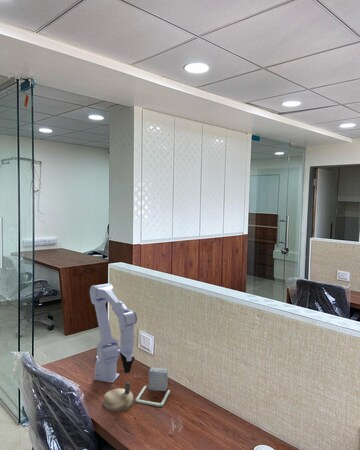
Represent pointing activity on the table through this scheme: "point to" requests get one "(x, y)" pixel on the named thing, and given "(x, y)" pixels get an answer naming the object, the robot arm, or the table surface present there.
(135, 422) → the table surface
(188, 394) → the table surface
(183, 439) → the table surface
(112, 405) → the disc
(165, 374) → the medicine box
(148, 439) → the table surface
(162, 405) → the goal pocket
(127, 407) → the base plate
